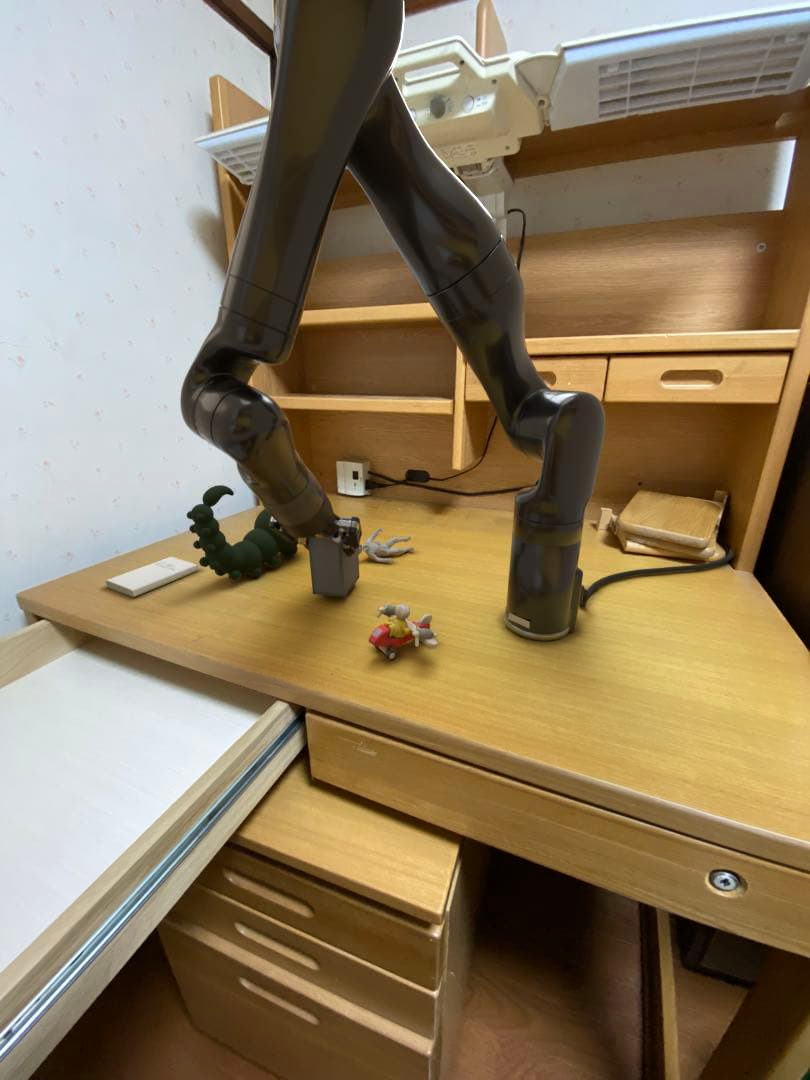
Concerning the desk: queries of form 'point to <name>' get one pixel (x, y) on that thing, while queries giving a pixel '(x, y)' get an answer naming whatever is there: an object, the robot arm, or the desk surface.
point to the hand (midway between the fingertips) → (333, 549)
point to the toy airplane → (401, 630)
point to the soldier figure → (383, 547)
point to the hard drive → (151, 576)
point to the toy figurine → (243, 554)
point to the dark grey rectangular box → (332, 567)
